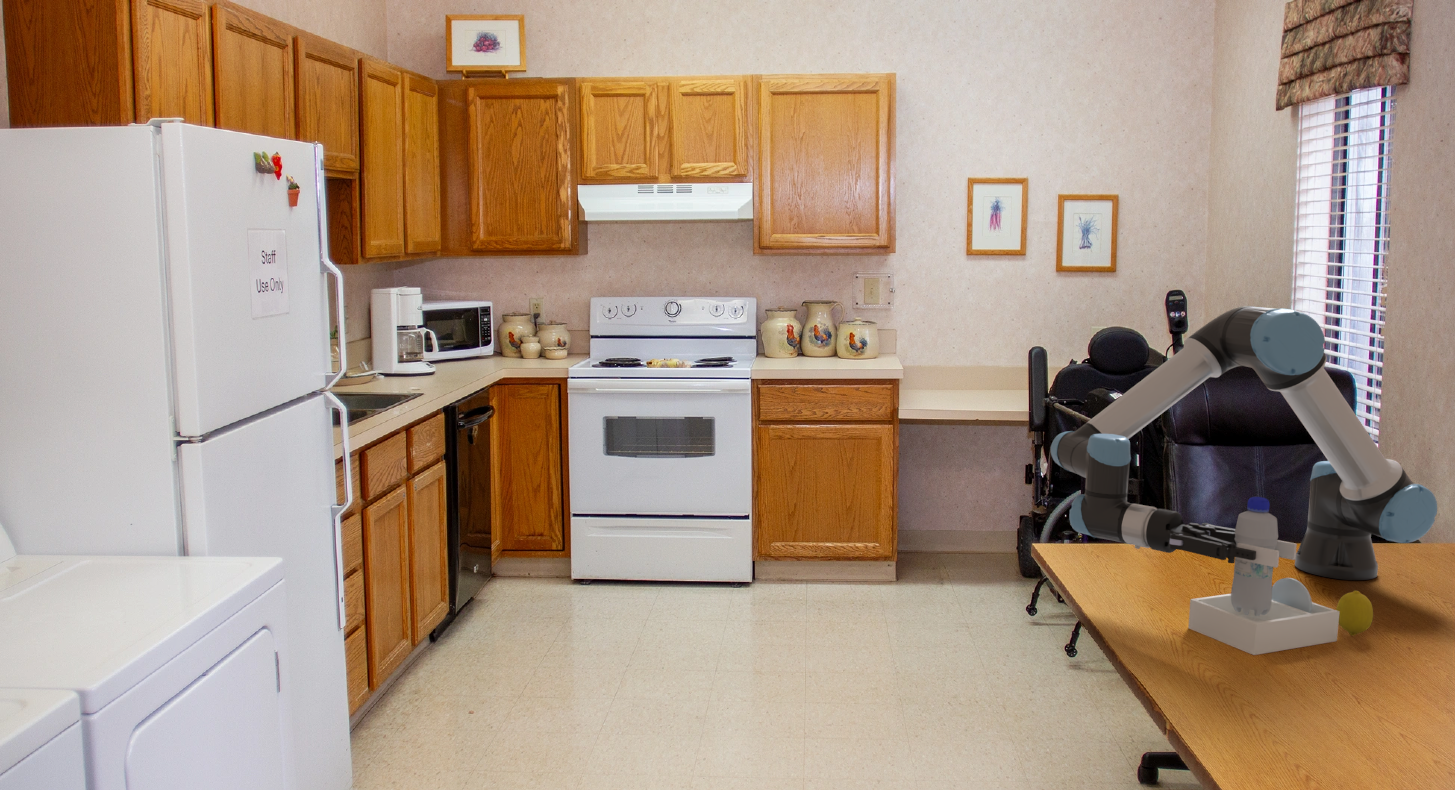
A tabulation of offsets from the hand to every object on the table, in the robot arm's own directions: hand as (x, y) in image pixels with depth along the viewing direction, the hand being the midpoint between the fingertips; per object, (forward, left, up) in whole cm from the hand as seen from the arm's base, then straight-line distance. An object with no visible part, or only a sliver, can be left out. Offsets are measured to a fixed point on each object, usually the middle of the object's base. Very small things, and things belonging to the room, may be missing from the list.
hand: (1286, 555), depth 186 cm
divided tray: (-1, -5, -15) cm, 16 cm away
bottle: (+2, -5, -11) cm, 12 cm away
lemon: (-16, +1, -16) cm, 22 cm away
